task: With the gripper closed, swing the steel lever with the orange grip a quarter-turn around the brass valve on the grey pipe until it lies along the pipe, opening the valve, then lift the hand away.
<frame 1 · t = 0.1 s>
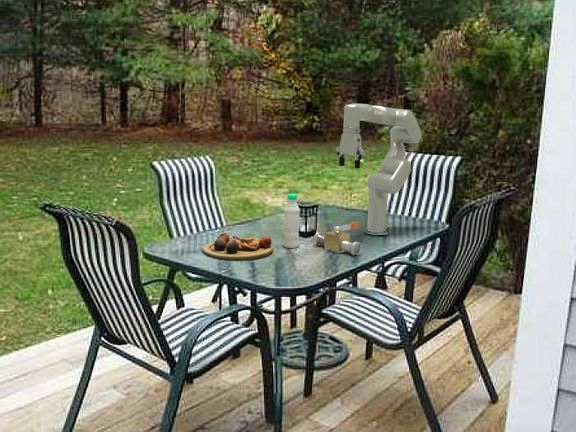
hand: (349, 167, 297), 37 cm above the table, tool pointing down, fingers open, 9 cm apart
water bottle: (290, 246, 293), on the table
valve lever: (346, 227, 291), point 10 cm above the table, hinge at 0.0°
wooden plate with food: (238, 252, 284), on the table
valve pipe: (336, 250, 289), on the table
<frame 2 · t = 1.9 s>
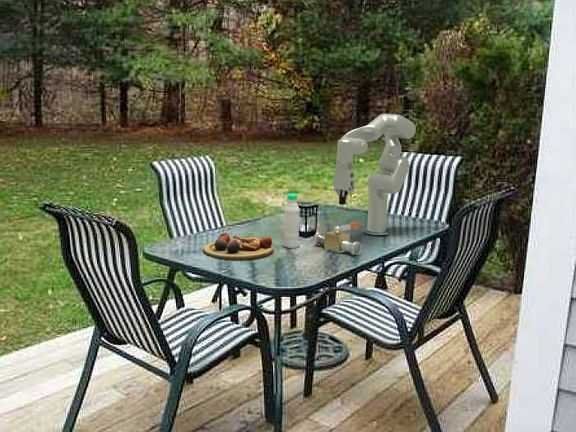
hand: (342, 204, 295), 20 cm above the table, tool pointing down, fingers closed
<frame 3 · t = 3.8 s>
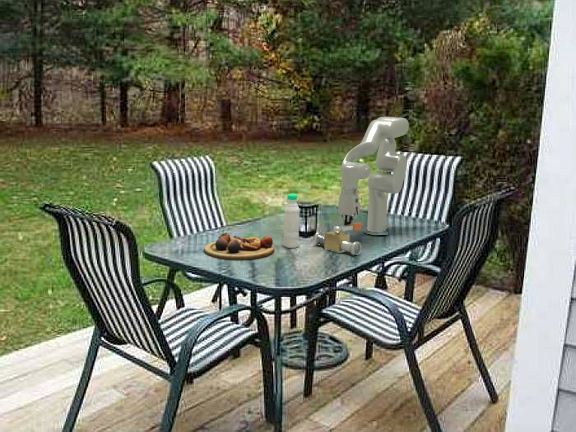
hand: (347, 228, 296), 8 cm above the table, tool pointing down, fingers closed
valve lever: (347, 227, 290), point 10 cm above the table, hinge at 7.3°, touching gripper
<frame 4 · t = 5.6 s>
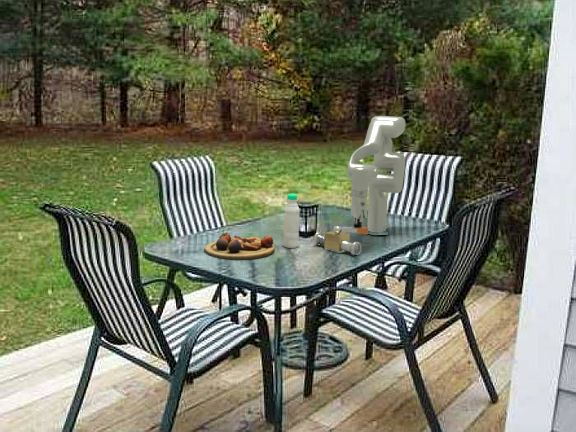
hand: (357, 232, 290), 8 cm above the table, tool pointing down, fingers closed
valve lever: (350, 229, 286), point 10 cm above the table, hinge at 50.2°, touching gripper
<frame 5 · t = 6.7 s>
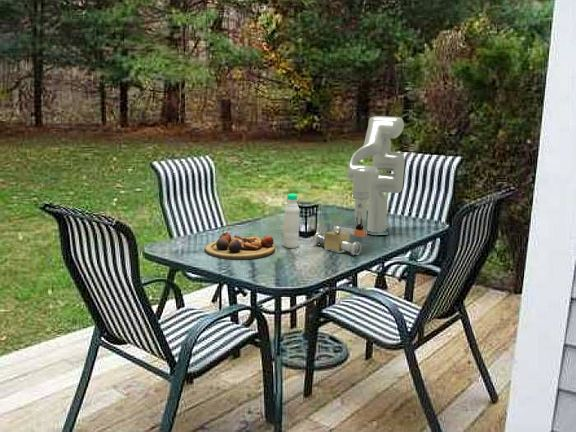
hand: (359, 234, 286), 8 cm above the table, tool pointing down, fingers closed
valve lever: (349, 231, 284), point 10 cm above the table, hinge at 75.0°, touching gripper
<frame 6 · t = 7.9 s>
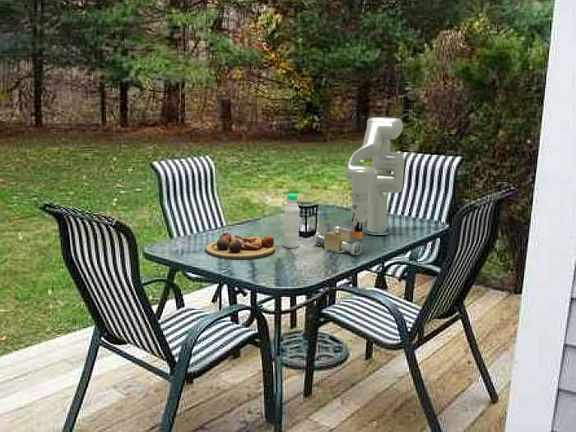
hand: (358, 236, 283), 8 cm above the table, tool pointing down, fingers closed
valve lever: (347, 231, 282), point 10 cm above the table, hinge at 91.7°, touching gripper
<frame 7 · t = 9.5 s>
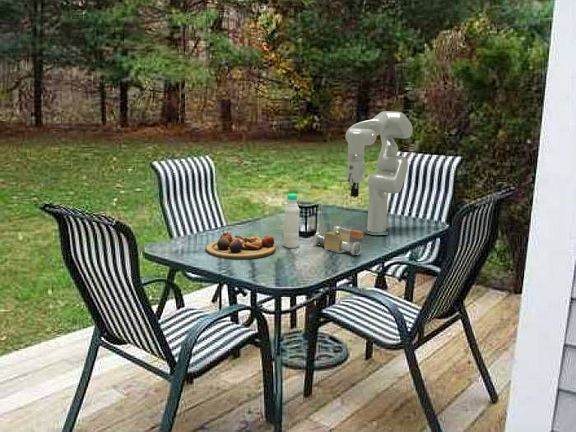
hand: (354, 196, 292), 24 cm above the table, tool pointing down, fingers closed
valve lever: (347, 231, 282), point 10 cm above the table, hinge at 90.6°
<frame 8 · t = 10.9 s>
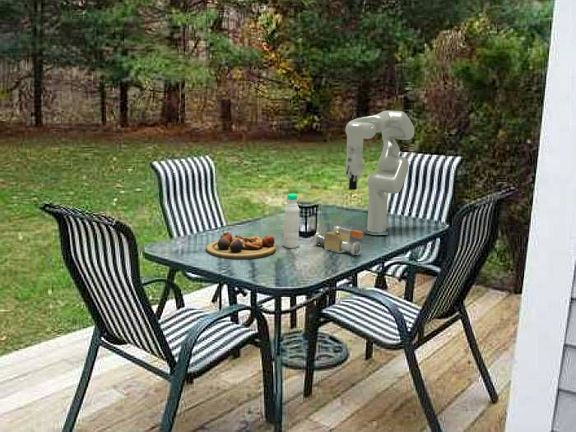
hand: (352, 189, 293), 27 cm above the table, tool pointing down, fingers closed
at the end: valve lever at +91° (first picture: +0°) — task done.
